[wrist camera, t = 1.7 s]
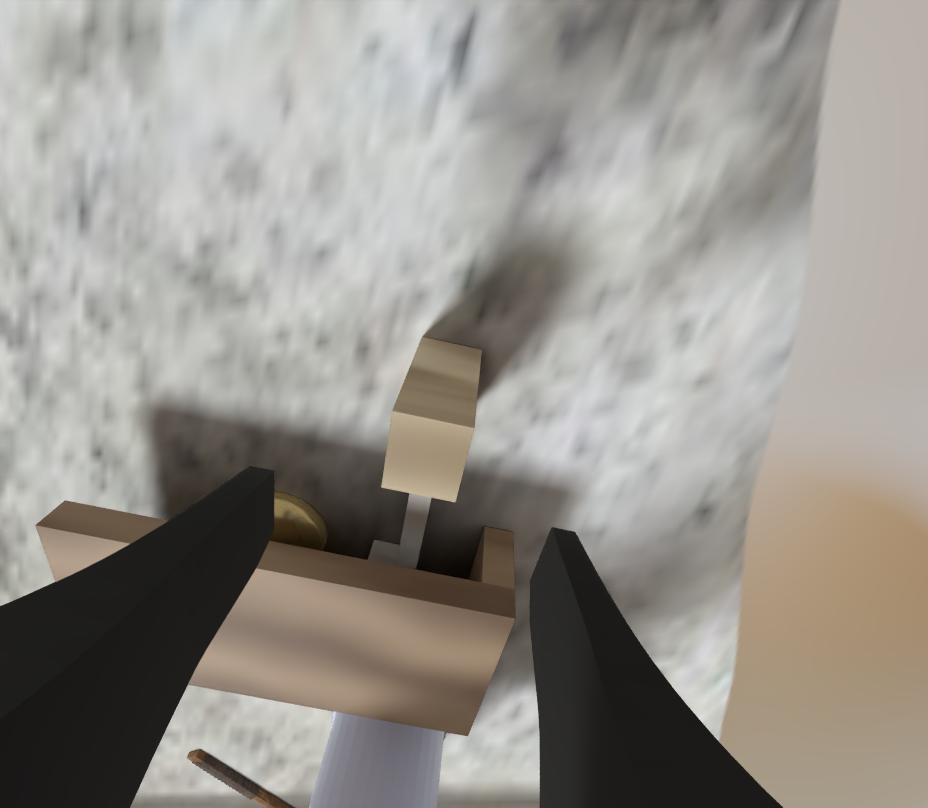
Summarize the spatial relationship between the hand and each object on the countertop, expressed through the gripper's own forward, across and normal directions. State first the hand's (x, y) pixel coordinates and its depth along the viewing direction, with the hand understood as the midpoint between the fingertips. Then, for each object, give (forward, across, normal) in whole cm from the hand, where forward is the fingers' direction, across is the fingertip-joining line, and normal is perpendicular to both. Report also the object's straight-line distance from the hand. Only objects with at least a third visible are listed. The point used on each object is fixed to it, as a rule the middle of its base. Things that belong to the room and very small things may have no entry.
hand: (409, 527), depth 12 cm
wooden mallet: (+9, 0, +5) cm, 10 cm away
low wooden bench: (+9, +5, +13) cm, 17 cm away
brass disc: (+9, +7, +11) cm, 16 cm away
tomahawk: (+10, +7, +47) cm, 48 cm away
